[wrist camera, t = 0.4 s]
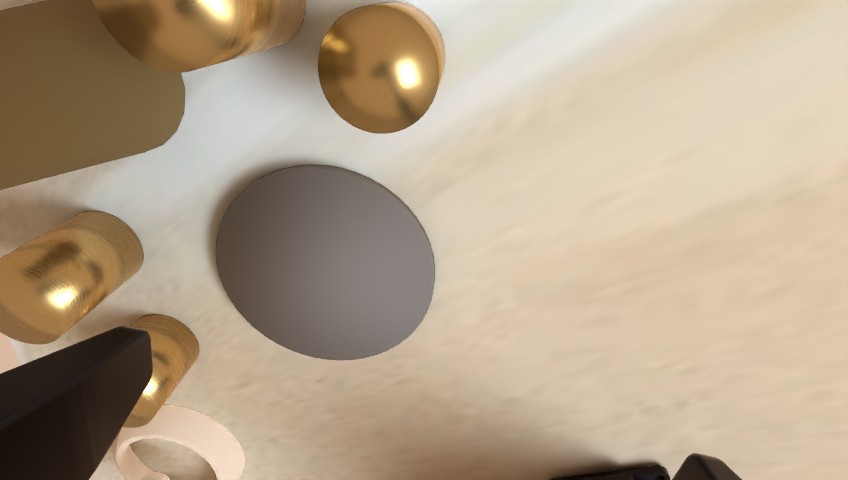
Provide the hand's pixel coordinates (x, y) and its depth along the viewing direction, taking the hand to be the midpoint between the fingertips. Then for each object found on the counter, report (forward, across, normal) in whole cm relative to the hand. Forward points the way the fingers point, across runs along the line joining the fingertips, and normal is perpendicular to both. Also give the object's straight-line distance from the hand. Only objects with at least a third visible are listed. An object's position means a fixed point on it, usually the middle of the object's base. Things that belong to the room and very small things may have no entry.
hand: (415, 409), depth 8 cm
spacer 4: (+13, +3, -4) cm, 14 cm away
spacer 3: (+13, +8, -5) cm, 16 cm away
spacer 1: (+13, +15, +7) cm, 21 cm away
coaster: (+13, +4, +6) cm, 15 cm away
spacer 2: (+13, +13, +13) cm, 22 cm away
